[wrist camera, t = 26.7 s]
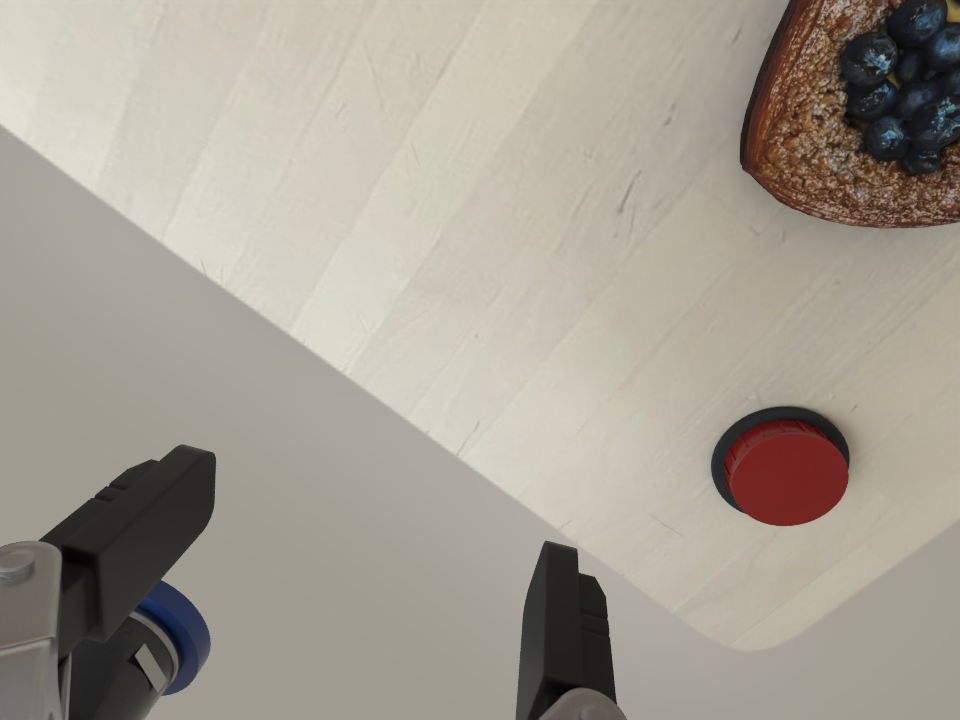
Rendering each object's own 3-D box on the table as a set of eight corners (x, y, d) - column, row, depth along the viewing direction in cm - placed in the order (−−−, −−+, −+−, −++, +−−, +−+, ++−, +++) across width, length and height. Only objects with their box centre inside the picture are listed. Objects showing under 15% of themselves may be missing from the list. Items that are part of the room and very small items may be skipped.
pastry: (1110, -63, 22) (1288, -124, 16) (946, 245, 27) (1043, 275, 21) (821, -120, 22) (902, -197, 17) (711, 192, 27) (747, 208, 22)
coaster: (812, 528, 33) (815, 532, 33) (693, 497, 33) (694, 501, 33) (870, 424, 30) (873, 428, 30) (738, 392, 31) (741, 395, 30)
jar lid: (753, 404, 30) (762, 418, 29) (858, 439, 30) (873, 455, 29) (704, 489, 33) (711, 506, 31) (802, 522, 33) (814, 540, 31)
